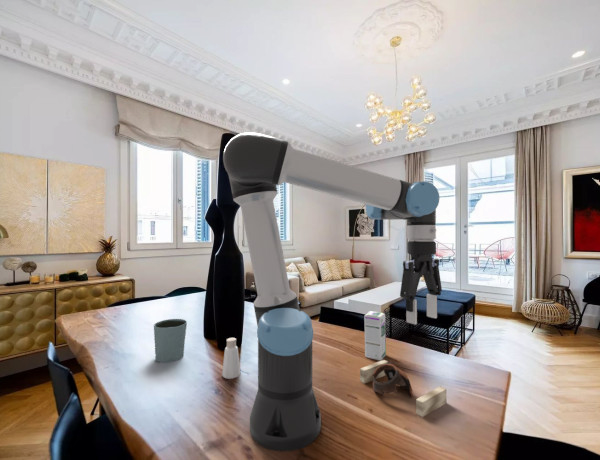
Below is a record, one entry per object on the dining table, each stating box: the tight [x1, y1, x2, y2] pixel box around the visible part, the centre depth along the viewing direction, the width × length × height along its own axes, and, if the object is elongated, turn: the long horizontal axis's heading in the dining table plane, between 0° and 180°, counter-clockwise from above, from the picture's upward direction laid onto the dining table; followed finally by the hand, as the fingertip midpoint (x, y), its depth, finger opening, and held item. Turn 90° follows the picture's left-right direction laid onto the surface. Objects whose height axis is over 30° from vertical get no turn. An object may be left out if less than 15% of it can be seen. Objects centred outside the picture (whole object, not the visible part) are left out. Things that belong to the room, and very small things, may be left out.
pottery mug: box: [371, 361, 414, 399], centre depth 73 cm, size 12×9×8 cm
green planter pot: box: [153, 318, 188, 364], centre depth 94 cm, size 10×10×12 cm
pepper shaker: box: [221, 337, 241, 379], centre depth 82 cm, size 5×5×11 cm
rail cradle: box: [359, 359, 447, 418], centre depth 73 cm, size 10×19×4 cm, turn 33°
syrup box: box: [363, 310, 387, 361], centre depth 95 cm, size 6×6×14 cm
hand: (422, 319), depth 79 cm, fingers open, 9 cm apart
